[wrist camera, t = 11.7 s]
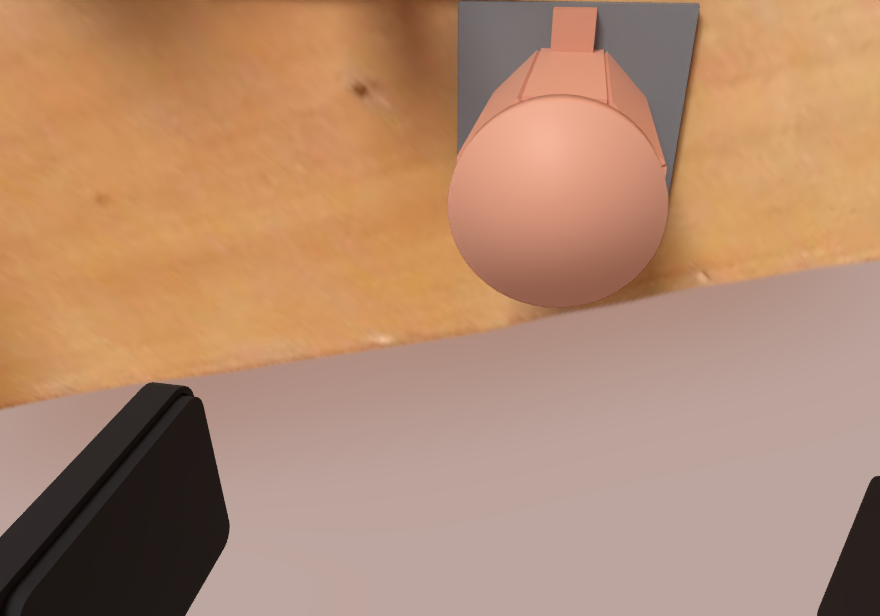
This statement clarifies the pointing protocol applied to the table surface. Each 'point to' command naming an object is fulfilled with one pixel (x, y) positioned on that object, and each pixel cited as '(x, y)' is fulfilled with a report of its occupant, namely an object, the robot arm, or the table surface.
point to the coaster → (617, 31)
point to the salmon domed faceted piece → (561, 176)
